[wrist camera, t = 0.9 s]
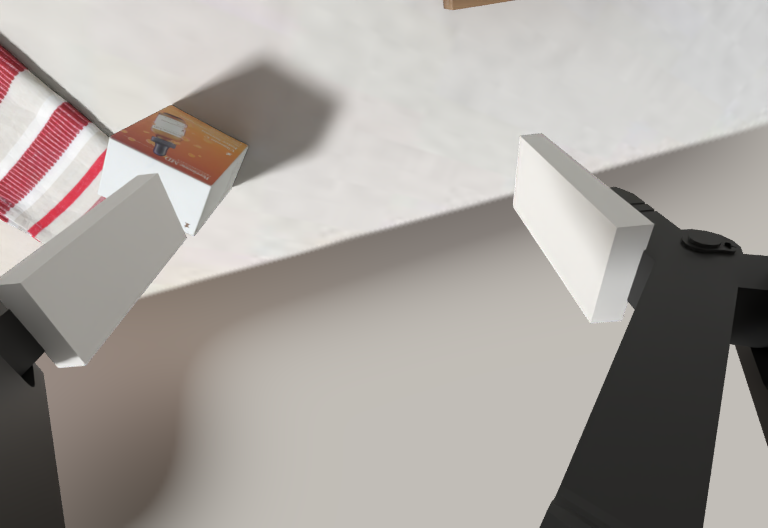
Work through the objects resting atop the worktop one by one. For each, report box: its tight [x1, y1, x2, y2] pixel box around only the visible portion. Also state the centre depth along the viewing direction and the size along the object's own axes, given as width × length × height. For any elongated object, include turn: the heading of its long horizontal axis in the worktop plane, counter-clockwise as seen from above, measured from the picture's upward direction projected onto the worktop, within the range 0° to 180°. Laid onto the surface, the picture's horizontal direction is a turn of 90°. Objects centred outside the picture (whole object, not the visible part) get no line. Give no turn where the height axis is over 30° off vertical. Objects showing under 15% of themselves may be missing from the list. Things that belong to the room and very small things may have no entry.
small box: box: [97, 105, 248, 236], centre depth 35 cm, size 8×6×10 cm
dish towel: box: [0, 45, 109, 244], centre depth 39 cm, size 17×23×3 cm
